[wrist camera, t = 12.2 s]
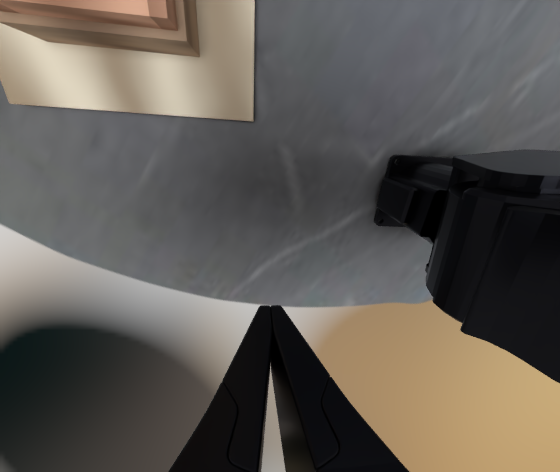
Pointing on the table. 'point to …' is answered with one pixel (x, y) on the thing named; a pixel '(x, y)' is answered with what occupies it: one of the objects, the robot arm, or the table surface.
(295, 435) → the robot arm
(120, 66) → the plate
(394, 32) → the table surface
